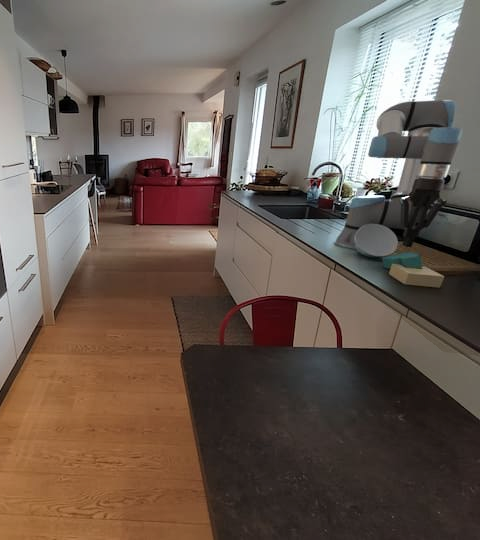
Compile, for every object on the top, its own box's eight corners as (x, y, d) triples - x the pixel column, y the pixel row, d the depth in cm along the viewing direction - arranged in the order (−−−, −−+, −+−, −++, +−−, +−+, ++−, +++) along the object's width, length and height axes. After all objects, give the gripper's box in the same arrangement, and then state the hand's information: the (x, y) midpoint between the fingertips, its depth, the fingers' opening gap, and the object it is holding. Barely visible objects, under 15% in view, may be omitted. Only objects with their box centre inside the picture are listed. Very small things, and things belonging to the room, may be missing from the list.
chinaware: (360, 268, 137) (369, 261, 130) (339, 239, 143) (347, 231, 136) (395, 256, 136) (406, 248, 129) (372, 228, 142) (382, 218, 135)
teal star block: (384, 267, 123) (381, 257, 123) (408, 262, 121) (406, 252, 121) (402, 271, 112) (399, 259, 112) (429, 265, 110) (426, 254, 110)
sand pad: (388, 274, 117) (392, 263, 115) (420, 277, 114) (424, 266, 113) (404, 284, 107) (408, 273, 106) (440, 287, 105) (444, 276, 104)
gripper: (414, 177, 106) (391, 247, 114) (461, 179, 103) (435, 250, 111) (401, 176, 113) (380, 242, 121) (445, 178, 110) (421, 245, 118)
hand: (406, 246), depth 116 cm, fingers closed
